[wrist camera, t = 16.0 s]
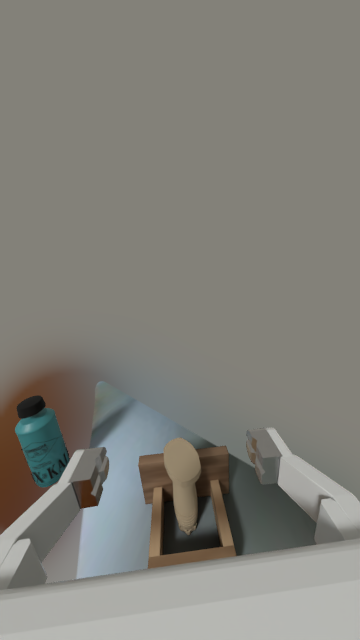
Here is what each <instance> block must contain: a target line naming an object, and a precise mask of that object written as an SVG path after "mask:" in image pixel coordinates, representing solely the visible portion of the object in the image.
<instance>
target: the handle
mask: <svg viewBox="0 0 360 640" xmlns="http://www.w3.org/2000/svg"><path fill="white" fill-rule="evenodd" d="M164 464H165V468H166V471H167V473H168V475H169V477H170V478H171V480H172V481H173V500H174V508H175V513H176V517H177V520H178V525H179V528H180V530H181V531H184V532H185V533H186V534H187V535H190V534H191V532H192V531H193V530H195V529H196V526H197V523H196V521H197V515H198V501H197V493H196V487H195V482H196V481H197V480H198V479H199V476H200V474H201V465H200V460H199V456H198V453H197V451H196V450H195V449H194V447H193V446H192V445H191V443H189V442H188V441H186V440H184V439H182V438H176V439H173V440H171V441H170V442H169V443H167V444H166V446H165V447H164Z"/></svg>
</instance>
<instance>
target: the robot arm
mask: <svg viewBox="0 0 360 640" xmlns="http://www.w3.org/2000/svg"><path fill="white" fill-rule="evenodd" d="M247 437H248V440H247V442H246V447H247V452H248V455H249V458H250V460H251V462H252V463H253V464H255V472H256V474H257V476H258V478H259V480H260V483H261V485H265V484H276V483H278V485H279V486H280V487H281V488H282V489H283V490H284V491H285V492H286V493H287V494H288V495H289V496H290V497H291V498H292V499H293V500H294V501H295V502H296V503H297V504H298V505H299V506H300V507H301V508H302V509H303V510H304V511H305V512H306V513H307V514H308V515H309V516H310V517H311V518H312V519H313V520H314V521H315V522H316V523H317V525H316V531H315V536H314V540H315V542H316V544H317V545H310V546H303V547H296V548H289V549H282V550H275V551H268V552H262V553H255V554H248V555H241V556H234V557H227V558H220V559H213V560H206V561H199V562H192V563H185V564H178V565H171V566H164V567H157V568H150V569H143V570H136V571H129V572H122V573H115V574H108V575H101V576H94V577H87V578H81V579H74V580H67V581H60V582H53V583H47V584H45V582H46V579H47V574H46V571H45V569H44V567H43V565H42V561H43V560H44V559H45V557H46V556H47V555H48V553H49V552H50V551H51V549H52V548H53V547H54V545H55V544H56V542H57V541H58V540H59V538H60V537H61V536H62V534H63V533H64V532H65V530H66V529H67V527H68V526H69V525H70V523H71V522H72V520H73V519H74V518H75V517H76V515H77V514H78V513H79V511H80V509H82V508H88V507H94V506H98V504H99V501H100V498H101V494H102V491H103V487H102V484H103V482H104V481H105V480H106V478H107V475H108V470H109V460H108V457H106V456H105V455H106V452H107V451H106V448H105V447H101V448H90V449H80V450H76V451H75V452H74V454H73V456H72V458H71V459H70V461H69V463H68V465H67V467H66V469H65V470H64V472H63V474H62V476H61V478H60V480H59V482H58V484H55V485H53V486H52V487H51V488H50V489H49V490H48V491H47V492H46V493H45V494H44V495H43V496H42V497H41V498H39V499H38V500H37V501H36V502H35V503H34V504H33V505H32V506H31V507H30V508H29V509H28V510H27V511H26V512H25V513H24V514H22V515H21V516H20V517H19V518H18V519H17V520H16V521H15V522H14V523H13V524H12V525H11V526H10V527H9V528H8V529H6V530H5V531H4V532H3V533H2V534H1V535H0V640H360V502H359V501H358V499H357V498H356V497H355V496H354V494H352V493H351V492H349V491H348V490H346V489H345V488H344V487H342V486H341V485H339V484H338V483H336V482H335V481H333V480H332V479H330V478H329V477H327V476H326V475H325V474H323V473H322V472H320V471H319V470H317V469H316V468H314V467H313V466H311V465H310V464H309V463H307V462H306V461H304V460H303V459H301V458H300V457H298V456H297V455H293V454H292V453H291V451H290V450H289V448H288V447H287V445H286V444H285V442H284V441H283V440H282V438H281V437H280V435H279V434H278V432H277V431H276V430H275V428H273V427H270V428H260V429H253V430H247Z"/></svg>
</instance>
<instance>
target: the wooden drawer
mask: <svg viewBox="0 0 360 640" xmlns="http://www.w3.org/2000/svg"><path fill="white" fill-rule="evenodd" d="M195 450H196V451H197V453H198V456H199V460H200V465H201V474H200V476H199V479H198V480H197V481H196V482H195V487H196V493H197V497H204V496H211V498H212V504H213V509H214V514H215V520H216V525H217V530H218V536H219V541H220V546H221V547H217V548H210V549H203V550H196V551H189V552H182V553H175V554H168V555H163V533H164V502H166V501H174V500H173V481H172V480H171V478H170V477H169V475H168V473H167V471H166V468H165V464H164V453H162V454H153V455H145V456H140V458H139V464H138V466H139V471H140V476H141V482H142V487H143V492H144V497H145V503H146V504H151V503H153V506H152V520H151V534H150V547H149V561H148V569H150V568H157V567H164V566H171V565H178V564H185V563H192V562H199V561H206V560H213V559H220V558H227V557H234V556H236V552H235V548H234V544H233V539H232V535H231V531H230V527H229V523H228V518H227V514H226V510H225V506H224V502H223V497H222V494H227V493H229V453H228V450H227V447H226V446H220V447H212V448H203V449H195Z"/></svg>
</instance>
